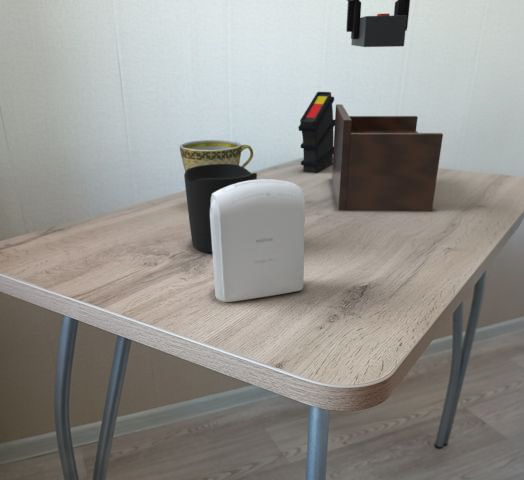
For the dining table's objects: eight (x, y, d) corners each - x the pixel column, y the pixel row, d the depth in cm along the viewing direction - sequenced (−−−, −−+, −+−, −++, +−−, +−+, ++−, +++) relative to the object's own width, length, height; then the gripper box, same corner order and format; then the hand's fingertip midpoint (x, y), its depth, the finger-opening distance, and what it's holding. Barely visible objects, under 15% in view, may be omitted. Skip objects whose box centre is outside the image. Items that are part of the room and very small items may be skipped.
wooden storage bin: (408, 181, 109) (418, 104, 102) (431, 212, 90) (445, 120, 83) (331, 180, 110) (335, 104, 103) (338, 211, 91) (343, 120, 84)
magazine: (339, 154, 126) (333, 91, 114) (320, 190, 119) (312, 128, 108) (323, 152, 127) (316, 90, 115) (304, 189, 121) (294, 127, 109)
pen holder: (179, 253, 73) (172, 176, 68) (203, 232, 81) (199, 162, 76) (246, 259, 71) (244, 181, 66) (265, 237, 79) (265, 165, 74)
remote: (384, 44, 75) (386, 16, 74) (404, 46, 62) (407, 12, 60) (351, 45, 75) (352, 17, 74) (363, 47, 62) (366, 13, 61)
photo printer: (220, 306, 59) (214, 189, 53) (210, 291, 62) (203, 180, 56) (308, 293, 62) (313, 180, 56) (294, 279, 65) (297, 172, 59)
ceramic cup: (201, 217, 88) (196, 152, 83) (174, 204, 95) (169, 143, 90) (268, 205, 94) (268, 144, 89) (239, 193, 101) (237, 136, 96)
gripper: (313, -164, 56) (308, 40, 66) (480, -170, 56) (452, 37, 65) (310, -144, 63) (306, 39, 72) (460, -149, 62) (437, 37, 71)
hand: (375, 36), depth 68 cm, fingers closed on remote, 4 cm apart
